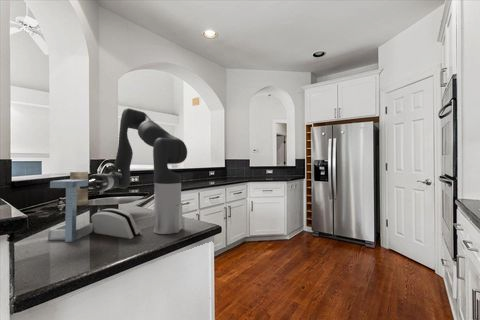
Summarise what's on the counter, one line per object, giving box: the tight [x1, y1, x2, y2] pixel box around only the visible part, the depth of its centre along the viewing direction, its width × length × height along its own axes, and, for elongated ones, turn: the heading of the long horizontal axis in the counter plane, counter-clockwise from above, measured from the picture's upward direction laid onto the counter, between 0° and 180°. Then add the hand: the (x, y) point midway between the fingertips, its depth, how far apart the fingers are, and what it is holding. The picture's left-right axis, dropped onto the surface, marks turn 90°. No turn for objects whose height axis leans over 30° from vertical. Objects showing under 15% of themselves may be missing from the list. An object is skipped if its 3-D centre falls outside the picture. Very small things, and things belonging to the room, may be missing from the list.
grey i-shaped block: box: [47, 179, 93, 243], centre depth 79 cm, size 9×11×18 cm
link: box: [69, 171, 89, 206], centre depth 90 cm, size 4×4×12 cm
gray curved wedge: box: [90, 208, 142, 240], centre depth 82 cm, size 17×5×10 cm, turn 68°
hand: (74, 186), depth 87 cm, fingers closed on link, 4 cm apart
